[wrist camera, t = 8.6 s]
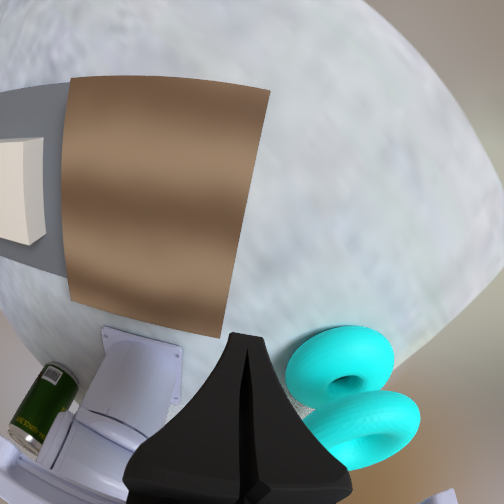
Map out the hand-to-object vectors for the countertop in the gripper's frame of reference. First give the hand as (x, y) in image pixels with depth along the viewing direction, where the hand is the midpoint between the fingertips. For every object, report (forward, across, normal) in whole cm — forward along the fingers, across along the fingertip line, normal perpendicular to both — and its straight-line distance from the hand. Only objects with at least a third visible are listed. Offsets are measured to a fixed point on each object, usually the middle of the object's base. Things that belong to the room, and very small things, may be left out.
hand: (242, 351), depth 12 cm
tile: (+9, +21, -2) cm, 23 cm away
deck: (+9, +7, -2) cm, 12 cm away
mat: (+9, +21, -2) cm, 23 cm away
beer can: (+10, +20, +22) cm, 31 cm away
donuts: (+10, -10, +9) cm, 17 cm away
